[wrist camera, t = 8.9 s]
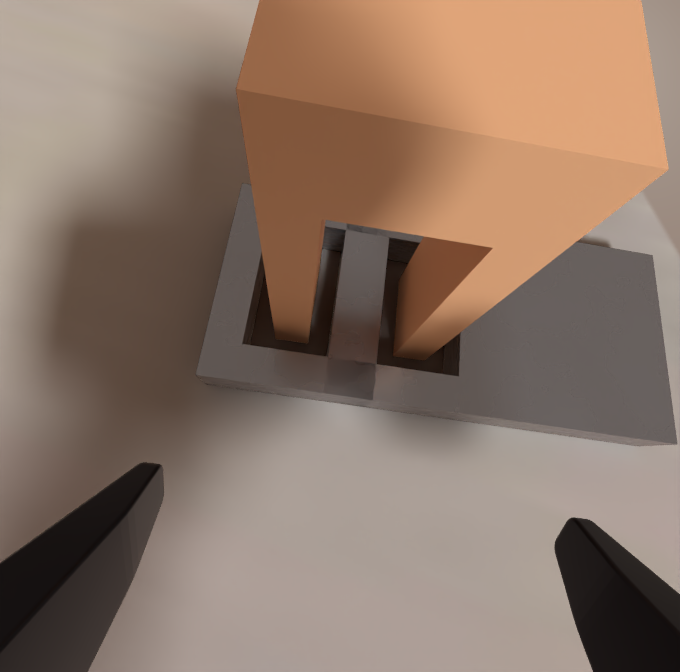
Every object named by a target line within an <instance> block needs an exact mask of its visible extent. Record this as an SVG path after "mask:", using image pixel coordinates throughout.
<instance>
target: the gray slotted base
mask: <svg viewBox="0 0 680 672" xmlns="http://www.w3.org/2000/svg"><path fill="white" fill-rule="evenodd" d="M423 237H424V236H419V235H413V234H407V233H401V232H395V231H389V230H383V229H377V228H371V227H365V226H359V225H353V224H347V223H341V222H335V221H330V220H326V222H325V229H324V237H323V245H322V249H327V250H333V251H339V252H341V257H340V264H339V271H338V278H337V285H336V292H335V299H334V306H333V313H332V320H331V327H330V335H329V342H328V349H327V356H319V355H313V354H306V353H299V352H293V351H286V350H279V349H273V348H266V347H260V346H253V345H250V342H251V337H252V333H253V328H254V323H255V318H256V313H257V308H258V303H259V299H260V294H261V289H262V284H263V279H264V274H265V269H264V263H263V257H262V250H261V244H260V238H259V231H258V225H257V219H256V212H255V206H254V200H253V193H252V187H251V185H250V184H244V183H242V186H241V190H240V194H239V198H238V202H237V206H236V211H235V215H234V219H233V223H232V227H231V231H230V235H229V239H228V243H227V247H226V252H225V256H224V260H223V264H222V268H221V272H220V276H219V280H218V284H217V289H216V293H215V297H214V301H213V305H212V309H211V313H210V317H209V321H208V326H207V330H206V334H205V338H204V342H203V346H202V350H201V354H200V358H199V362H198V367H197V371H196V376H197V377H199V378H200V379H201V380H202V381H203V382H204V383H205V384H208V385H215V386H222V387H229V388H236V389H243V390H250V391H257V392H264V393H271V394H278V395H285V396H292V397H299V398H306V399H313V400H320V401H327V402H334V403H341V404H348V405H355V406H362V407H369V408H376V409H383V410H390V411H397V412H404V413H410V414H417V415H424V416H431V417H438V418H445V419H452V420H459V421H466V422H473V423H480V424H487V425H494V426H501V427H508V428H515V429H522V430H529V431H536V432H543V433H550V434H557V435H564V436H571V437H578V438H585V439H592V440H599V441H606V442H613V443H620V444H627V445H634V446H654V445H675V444H677V438H676V430H675V422H674V415H673V407H672V400H671V392H670V384H669V377H668V369H667V362H666V354H665V346H664V339H663V331H662V323H661V316H660V308H659V301H658V293H657V285H656V278H655V270H654V263H653V255H648V254H643V253H637V252H631V251H626V250H620V249H614V248H608V247H603V246H597V245H591V244H586V243H580V242H575V243H574V244H573V245H571V246H570V247H569V248H568V249H566V250H565V251H564V252H563V253H561V254H560V255H559V256H557V257H556V258H555V259H554V260H552V261H551V262H550V263H548V264H547V265H546V266H545V267H543V268H542V269H541V270H540V271H538V272H537V273H536V274H534V275H533V276H532V277H531V278H529V279H528V280H527V281H525V282H524V283H523V284H522V285H520V286H519V287H518V288H517V289H515V290H514V291H513V292H511V293H510V294H509V295H508V296H506V297H505V298H504V299H502V300H501V301H500V302H499V303H497V304H496V305H495V306H494V307H492V308H491V309H490V310H488V311H487V312H486V313H485V314H483V315H482V316H481V317H479V318H478V319H477V320H476V321H474V322H473V323H472V324H471V325H469V326H468V327H467V328H465V329H464V330H463V331H462V332H460V333H459V334H458V335H456V336H455V337H454V338H453V339H451V340H450V341H449V342H448V343H446V344H445V345H444V360H443V374H439V373H432V372H426V371H419V370H412V369H406V368H399V367H392V366H386V365H379V364H377V354H378V344H379V334H380V324H381V314H382V304H383V294H384V284H385V274H386V265H387V260H393V261H399V262H405V263H409V261H410V260H411V258H412V256H413V254H414V253H415V251H416V249H417V247H418V246H419V244H420V242H421V240H422V239H423Z"/></svg>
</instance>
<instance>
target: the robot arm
mask: <svg viewBox="0 0 680 672" xmlns="http://www.w3.org/2000/svg"><path fill="white" fill-rule="evenodd" d="M163 496H164V481H163V467H162V466H161V465H160V464H154V463H147V462H143V463H140V464H138V465H137V466H135V467H134V468H133V469H131V470H130V471H128V472H127V473H126V474H124V475H123V476H121V477H120V478H119V479H117V480H116V481H114V482H113V483H111V484H110V485H109V486H107V487H106V488H104V489H103V490H102V491H100V492H99V493H97V494H96V495H95V496H93V497H92V498H90V499H89V500H88V501H86V502H85V503H83V504H82V505H81V506H79V507H78V508H76V509H75V510H74V511H72V512H71V513H69V514H68V515H67V516H65V517H64V518H62V519H61V520H60V521H58V522H57V523H55V524H54V525H53V526H51V527H50V528H48V529H47V530H46V531H44V532H43V533H41V534H40V535H39V536H37V537H36V538H34V539H33V540H31V541H30V542H29V543H27V544H26V545H24V546H23V547H22V548H20V549H19V550H17V551H16V552H15V553H13V554H12V555H10V556H9V557H8V558H6V559H5V560H3V561H2V562H1V563H0V672H88V670H89V668H90V666H91V664H92V662H93V660H94V658H95V656H96V654H97V652H98V650H99V648H100V646H101V644H102V642H103V640H104V638H105V636H106V634H107V632H108V630H109V627H110V625H111V623H112V621H113V619H114V617H115V615H116V613H117V611H118V609H119V607H120V605H121V603H122V601H123V599H124V597H125V595H126V593H127V591H128V589H129V587H130V585H131V582H132V580H133V578H134V576H135V573H136V571H137V568H138V566H139V563H140V560H141V558H142V555H143V552H144V550H145V547H146V544H147V541H148V539H149V536H150V533H151V531H152V528H153V525H154V523H155V520H156V517H157V515H158V512H159V509H160V507H161V504H162V501H163ZM555 554H556V557H557V561H558V565H559V568H560V572H561V575H562V579H563V582H564V586H565V589H566V593H567V596H568V600H569V604H570V607H571V611H572V614H573V617H574V621H575V624H576V627H577V630H578V633H579V635H580V638H581V641H582V644H583V646H584V649H585V652H586V654H587V657H588V660H589V662H590V665H591V667H592V670H593V672H680V594H679V593H678V592H676V591H675V590H674V589H673V588H672V587H670V586H669V585H668V584H667V583H666V582H664V581H663V580H662V579H661V578H660V577H658V576H657V575H656V574H655V573H654V572H652V571H651V570H650V569H649V568H648V567H646V566H645V565H644V564H643V563H642V562H640V561H639V560H638V559H637V558H636V557H634V556H633V555H632V554H631V553H630V552H628V551H627V550H626V549H625V548H624V547H622V546H621V545H620V544H619V543H618V542H616V541H615V540H614V539H613V538H612V537H610V536H609V535H608V534H607V533H606V532H604V531H603V530H602V529H601V528H600V527H598V526H597V525H596V524H595V523H594V522H592V521H590V520H588V519H582V518H570V519H568V521H567V522H566V524H565V525H564V527H563V529H562V530H561V532H560V534H559V535H558V537H557V539H556V541H555Z"/></svg>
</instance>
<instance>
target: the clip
mask: <svg viewBox="0 0 680 672" xmlns="http://www.w3.org/2000/svg"><path fill="white" fill-rule="evenodd" d="M236 92H237V99H238V105H239V111H240V118H241V124H242V130H243V137H244V143H245V149H246V155H247V162H248V168H249V174H250V181H251V187H252V193H253V200H254V206H255V212H256V219H257V225H258V231H259V238H260V244H261V250H262V257H263V263H264V269H265V276H266V282H267V288H268V295H269V301H270V307H271V313H272V320H273V326H274V332H275V339H280V340H287V341H294V342H300V343H307V344H308V340H309V334H310V327H311V321H312V314H313V308H314V301H315V295H316V288H317V281H318V275H319V268H320V261H321V253H322V245H323V237H324V229H325V222H326V220H330V221H335V222H341V223H347V224H353V225H359V226H365V227H371V228H377V229H383V230H389V231H395V232H401V233H407V234H413V235H419V236H424V237H423V239H422V240H421V242H420V244H419V246H418V247H417V249H416V251H415V253H414V254H413V256H412V258H411V260H410V261H409V263H408V265H407V267H406V268H405V270H404V272H403V274H402V275H401V277H400V279H399V289H398V301H397V313H396V325H395V337H394V349H393V356H395V357H402V358H409V359H416V360H423V361H424V360H426V359H427V358H428V357H430V356H431V355H432V354H433V353H435V352H436V351H437V350H439V349H440V348H441V347H442V346H444V345H445V344H446V343H448V342H449V341H450V340H451V339H453V338H454V337H455V336H456V335H458V334H459V333H460V332H462V331H463V330H464V329H465V328H467V327H468V326H469V325H471V324H472V323H473V322H474V321H476V320H477V319H478V318H479V317H481V316H482V315H483V314H485V313H486V312H487V311H488V310H490V309H491V308H492V307H494V306H495V305H496V304H497V303H499V302H500V301H501V300H502V299H504V298H505V297H506V296H508V295H509V294H510V293H511V292H513V291H514V290H515V289H517V288H518V287H519V286H520V285H522V284H523V283H524V282H525V281H527V280H528V279H529V278H531V277H532V276H533V275H534V274H536V273H537V272H538V271H540V270H541V269H542V268H543V267H545V266H546V265H547V264H548V263H550V262H551V261H552V260H554V259H555V258H556V257H557V256H559V255H560V254H561V253H563V252H564V251H565V250H566V249H568V248H569V247H570V246H571V245H573V244H574V243H575V242H577V241H578V240H579V239H580V238H582V237H583V236H584V235H586V234H587V233H588V232H589V231H591V230H592V229H593V228H595V227H596V226H597V225H598V224H600V223H601V222H602V221H603V220H605V219H606V218H607V217H609V216H610V215H611V214H612V213H614V212H615V211H616V210H618V209H619V208H620V207H621V206H623V205H624V204H625V203H626V202H628V201H629V200H630V199H632V198H633V197H634V196H635V195H637V194H638V193H639V192H641V191H642V190H643V189H644V188H646V187H647V186H648V185H649V184H651V183H652V182H653V181H655V180H656V179H657V178H658V177H660V176H661V175H662V174H663V173H665V172H666V171H667V170H668V162H667V157H666V150H665V144H664V138H663V132H662V125H661V119H660V114H659V107H658V101H657V95H656V89H655V82H654V76H653V71H652V65H651V58H650V52H649V46H648V39H647V33H646V27H645V21H644V15H643V9H642V3H641V1H640V0H260V1H259V4H258V8H257V12H256V16H255V19H254V23H253V27H252V31H251V34H250V38H249V42H248V46H247V49H246V53H245V57H244V61H243V64H242V68H241V72H240V76H239V79H238V83H237V87H236Z"/></svg>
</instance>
